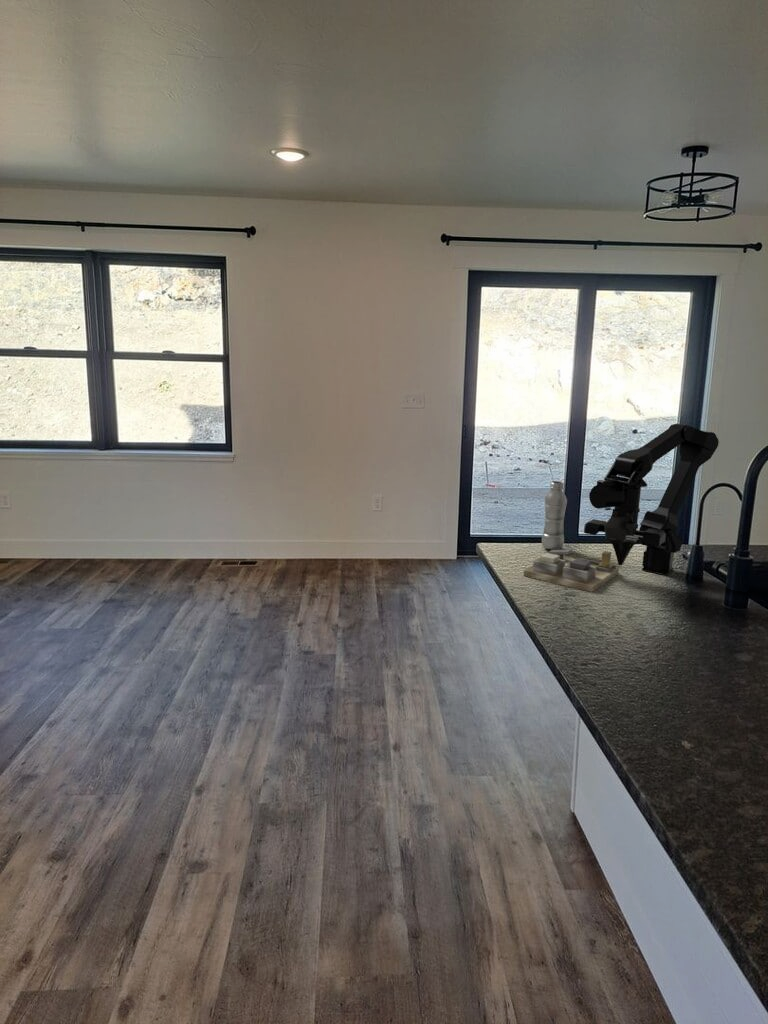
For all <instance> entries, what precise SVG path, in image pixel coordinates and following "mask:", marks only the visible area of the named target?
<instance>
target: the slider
mask: <svg viewBox="0 0 768 1024" xmlns="http://www.w3.org/2000/svg"><path fill="white" fill-rule="evenodd" d="M611 558H612V552H611V551H607V550H605V551H603V552H602V553H601V560H600V561H601V563H600V564H599V565H598V567H603V568H608V569H612V568H613V565H614V564H611ZM610 564H611V565H610Z"/></svg>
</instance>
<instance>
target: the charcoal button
mask: <svg viewBox="0 0 768 1024" xmlns="http://www.w3.org/2000/svg"><path fill="white" fill-rule="evenodd" d="M574 559H575V558H574ZM570 568H574V569H578V570H583V571H585V570H587V569H589V568H590V562H588V561H583V560H578V558H576V559H575V560H574V561H572V562H570Z"/></svg>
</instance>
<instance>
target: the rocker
mask: <svg viewBox="0 0 768 1024" xmlns="http://www.w3.org/2000/svg"><path fill="white" fill-rule="evenodd" d="M547 553H549V554H554V555H560V554H564V555H570V554H571V553H573V549H559V550H550V551H548V552H547Z"/></svg>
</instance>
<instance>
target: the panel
mask: <svg viewBox="0 0 768 1024" xmlns="http://www.w3.org/2000/svg"><path fill="white" fill-rule="evenodd" d="M564 555H565V554H560V555H559V556H560V558H559V562H557V563H555V564H550V563H546V562H541V561H540V557H539V558H537V559H534V560H533V565H532V566H529V567H528V568H526V569H524V570H523V577H526V576H528V577H527V578H530V577H533V578H532V579H534V578H536V579H535V580H539V579H541V580H540V581H543V580H546V581H545V582H547V581H550V582H549V583H551V582H553V583H552V584H556V583H558V584H557V585H560V584H561V586H564V585H565V587H568V586H569V587H570V588H574V589H577V590H582V591H586V592H590V593H593V592H594V591H595V590H597V589H598V588H600V587H602V585H604V584H605V583H608V582H609V581H610V580H611V579H613V578H614V577H616V576H617V575H618V574H619V571H620V570H619V569H620V568H618V567H617V565H615V564H611V563H610V565H613V568H612V569H608V568H603V567H598V565H599V564H600V563H601V562H600V561H595V560H592V559H591V560H590V559H585V558H581V557H579V558H577V559H578V560H583V561H588V562H590V568H589V569H587V570H585V571H583V570H578V569H574V568H570V562H572V561H574V560H575V558H571V557H567V556H564Z"/></svg>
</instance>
